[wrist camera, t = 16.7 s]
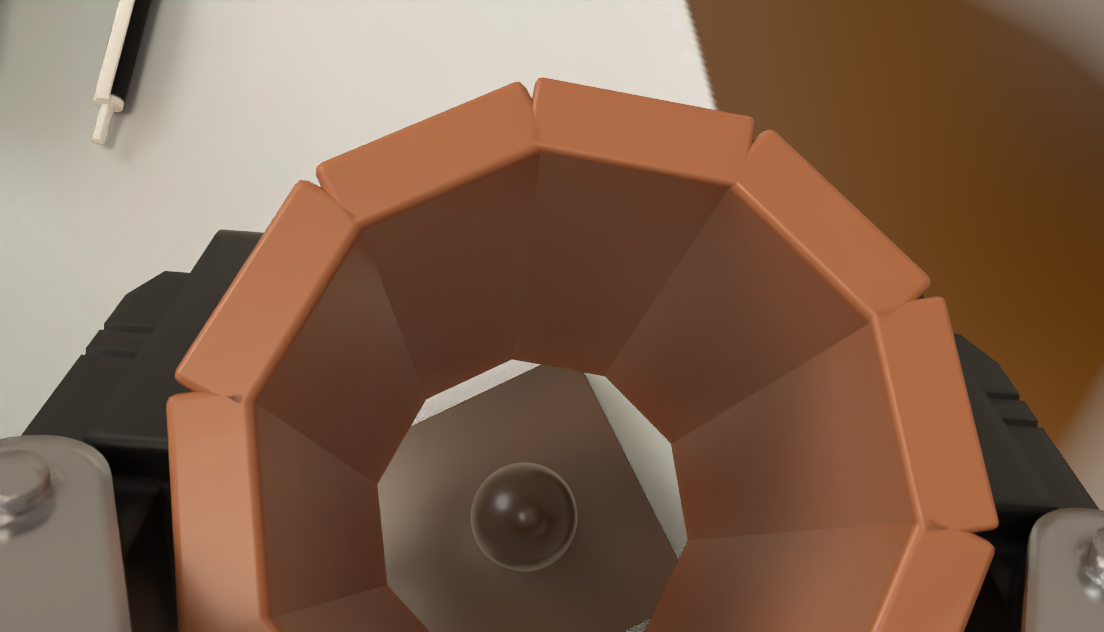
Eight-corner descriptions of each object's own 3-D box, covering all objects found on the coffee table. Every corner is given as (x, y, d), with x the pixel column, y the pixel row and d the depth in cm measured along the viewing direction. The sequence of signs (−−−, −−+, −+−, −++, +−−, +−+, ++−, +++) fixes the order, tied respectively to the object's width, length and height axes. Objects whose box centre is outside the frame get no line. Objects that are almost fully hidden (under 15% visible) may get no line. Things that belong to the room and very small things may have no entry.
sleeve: (273, 427, 15) (31, 279, 7) (621, 267, 15) (758, -23, 8) (431, 794, 14) (358, 1114, 6) (794, 599, 14) (1151, 646, 7)
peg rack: (335, 469, 30) (225, 409, 18) (568, 358, 31) (622, 227, 19) (445, 719, 29) (413, 849, 16) (685, 592, 30) (829, 619, 17)
